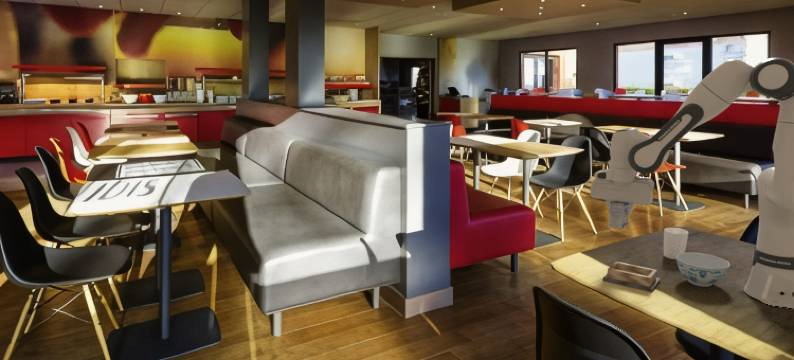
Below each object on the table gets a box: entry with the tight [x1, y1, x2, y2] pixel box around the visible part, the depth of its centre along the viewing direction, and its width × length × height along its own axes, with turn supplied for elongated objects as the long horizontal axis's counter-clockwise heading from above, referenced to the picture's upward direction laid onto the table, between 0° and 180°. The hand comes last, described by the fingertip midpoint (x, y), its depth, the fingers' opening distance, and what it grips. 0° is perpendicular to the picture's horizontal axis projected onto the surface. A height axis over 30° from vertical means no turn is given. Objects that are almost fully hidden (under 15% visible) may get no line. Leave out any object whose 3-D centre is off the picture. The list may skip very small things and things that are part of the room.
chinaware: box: [675, 252, 731, 288], centre depth 170 cm, size 15×15×8 cm
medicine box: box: [608, 201, 630, 230], centre depth 184 cm, size 8×4×9 cm, turn 142°
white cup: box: [663, 227, 689, 260], centre depth 194 cm, size 8×8×10 cm
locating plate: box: [602, 261, 661, 293], centre depth 172 cm, size 15×11×4 cm
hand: (619, 213), depth 184 cm, fingers closed on medicine box, 4 cm apart
